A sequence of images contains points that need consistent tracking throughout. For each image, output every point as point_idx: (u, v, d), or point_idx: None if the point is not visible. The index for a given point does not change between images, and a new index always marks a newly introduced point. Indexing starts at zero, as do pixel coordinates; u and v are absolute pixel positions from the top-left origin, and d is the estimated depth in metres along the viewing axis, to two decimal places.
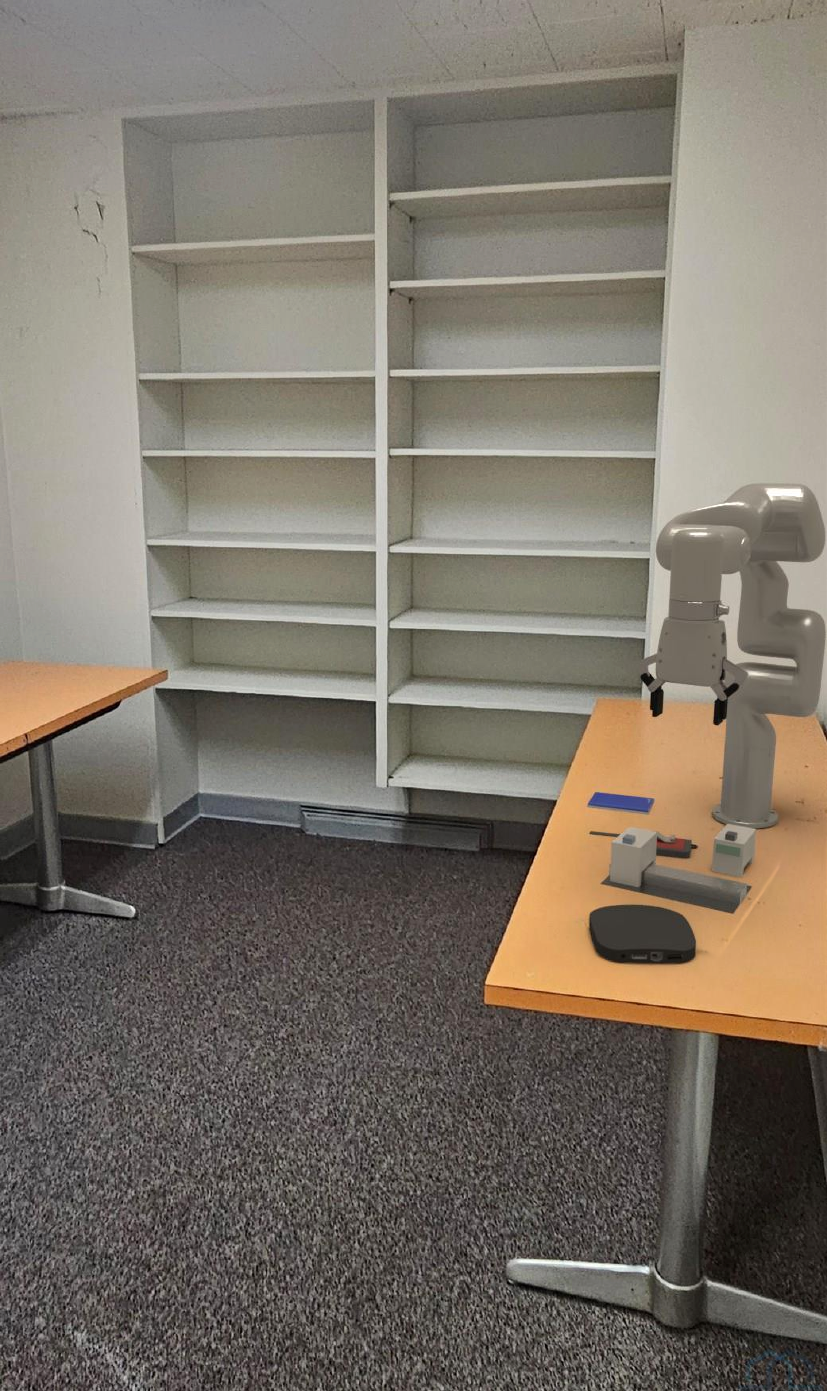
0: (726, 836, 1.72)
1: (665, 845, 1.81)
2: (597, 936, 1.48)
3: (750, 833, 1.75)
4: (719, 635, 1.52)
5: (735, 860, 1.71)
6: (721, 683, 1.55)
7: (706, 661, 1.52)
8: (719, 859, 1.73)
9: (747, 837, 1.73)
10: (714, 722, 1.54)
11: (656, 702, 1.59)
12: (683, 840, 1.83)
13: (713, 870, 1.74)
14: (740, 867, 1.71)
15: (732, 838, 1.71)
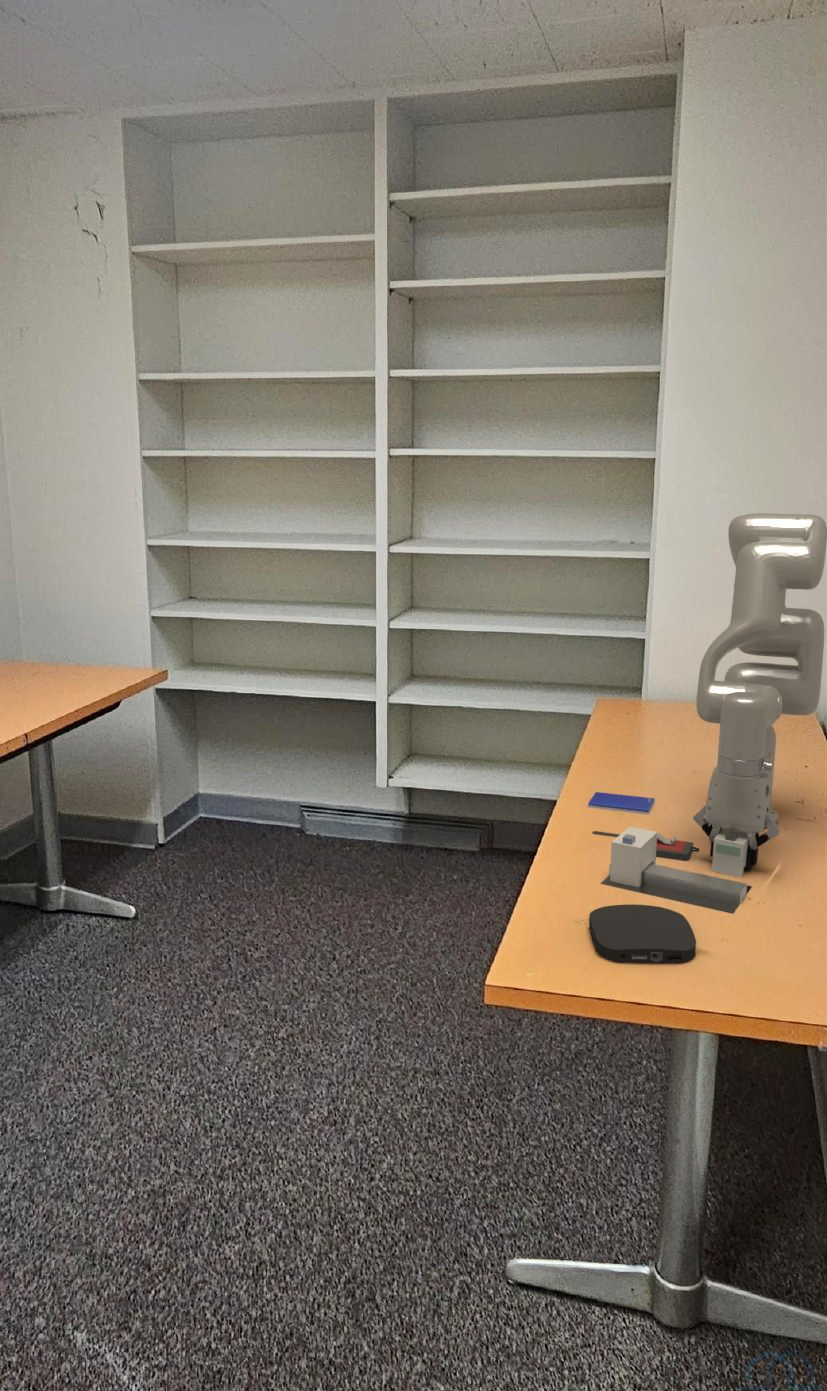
0: (726, 836, 1.72)
1: (665, 847, 1.80)
2: (597, 936, 1.48)
3: None
4: (764, 789, 1.69)
5: (735, 860, 1.71)
6: None
7: (752, 811, 1.70)
8: (719, 859, 1.73)
9: (747, 837, 1.73)
10: (746, 868, 1.73)
11: None
12: (684, 842, 1.82)
13: (713, 870, 1.74)
14: (740, 867, 1.71)
15: (732, 838, 1.71)
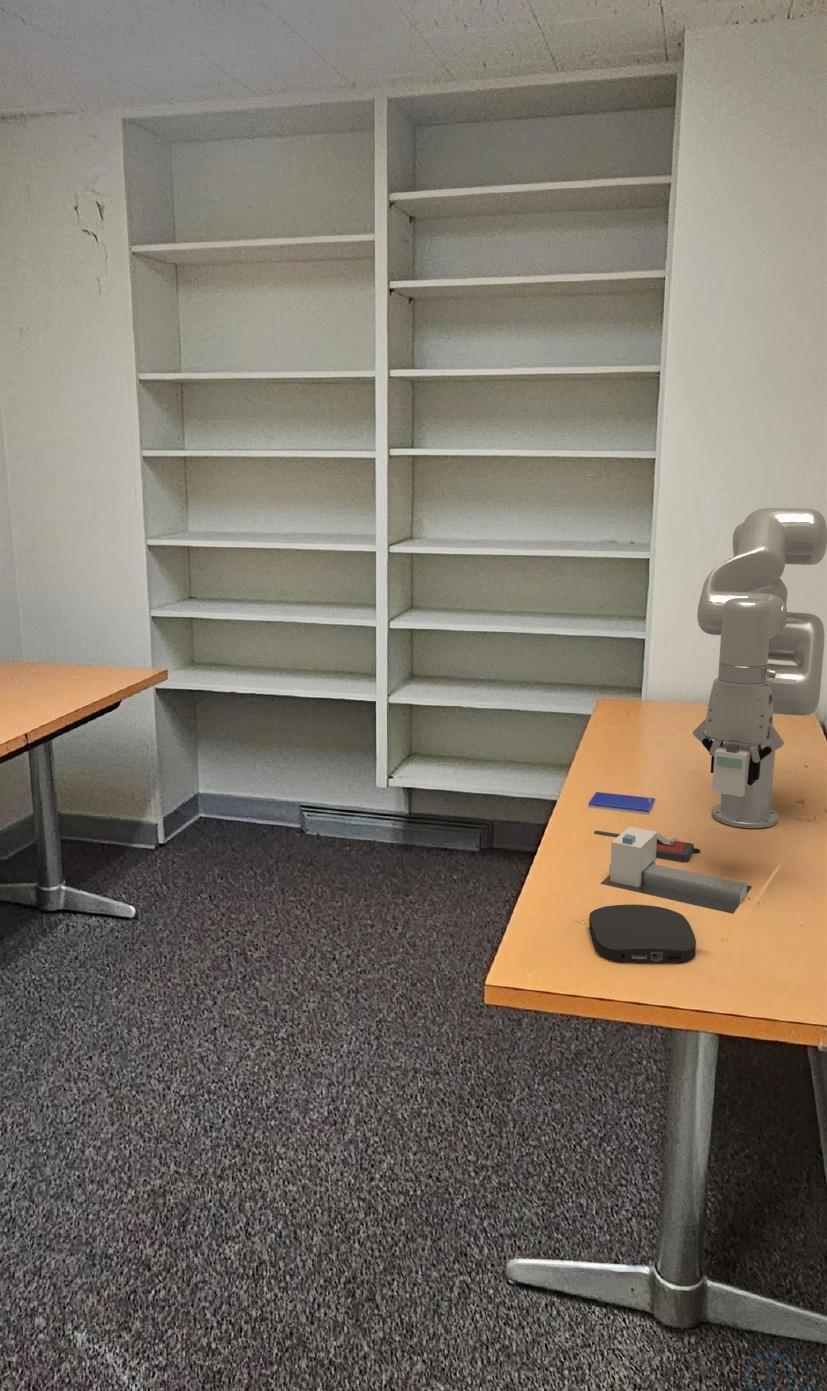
0: (727, 748, 1.65)
1: (664, 847, 1.80)
2: (597, 936, 1.48)
3: None
4: (767, 697, 1.62)
5: (736, 773, 1.64)
6: (759, 745, 1.67)
7: (754, 721, 1.63)
8: (720, 773, 1.66)
9: (749, 750, 1.66)
10: (748, 782, 1.66)
11: None
12: (684, 843, 1.81)
13: (714, 785, 1.67)
14: (742, 780, 1.64)
15: (734, 750, 1.64)
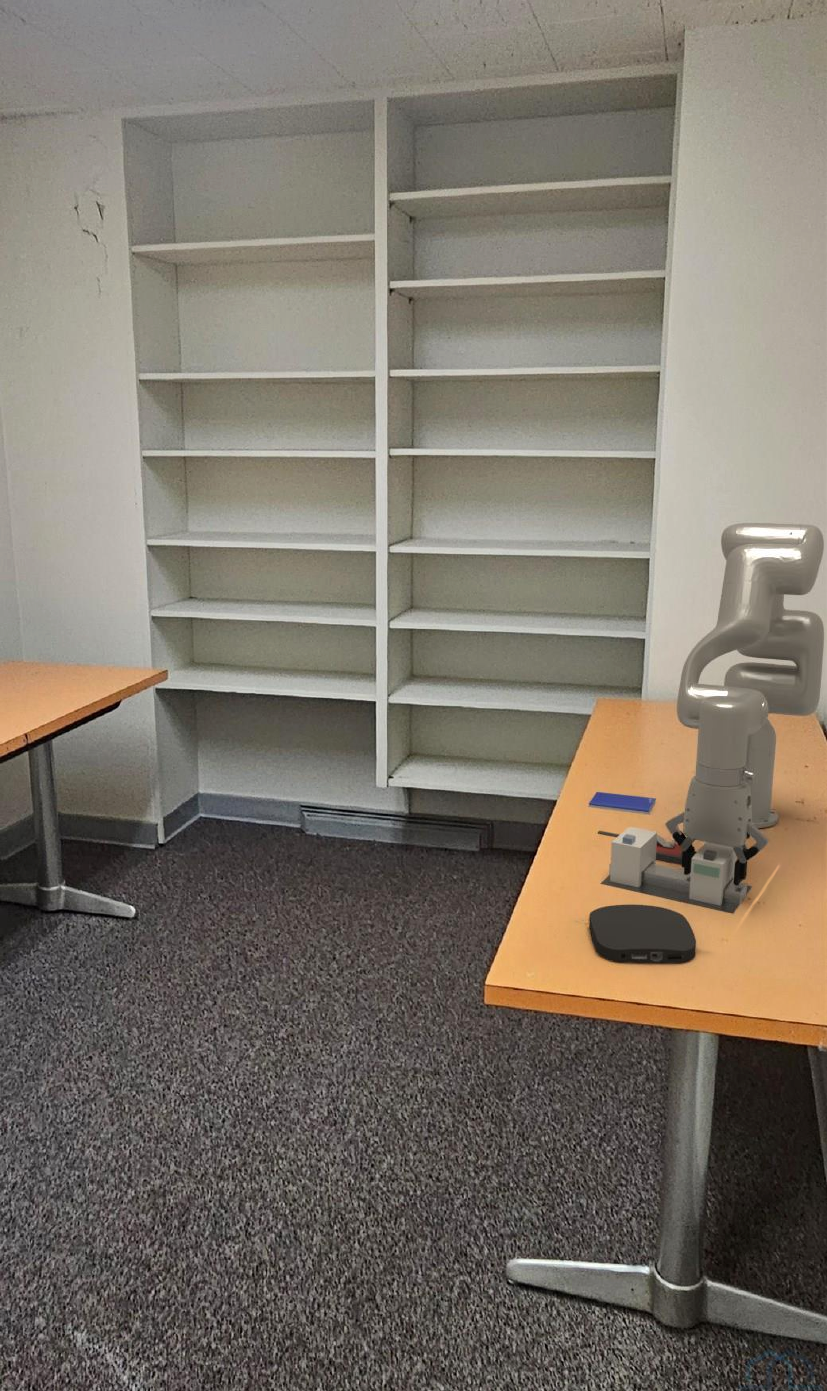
0: (704, 855, 1.61)
1: (663, 850, 1.79)
2: (597, 936, 1.48)
3: (730, 852, 1.64)
4: (745, 800, 1.58)
5: (714, 881, 1.60)
6: None
7: (732, 824, 1.59)
8: (698, 880, 1.62)
9: (727, 856, 1.62)
10: (734, 883, 1.61)
11: (688, 861, 1.65)
12: None
13: (691, 892, 1.63)
14: (719, 889, 1.60)
15: (711, 858, 1.60)
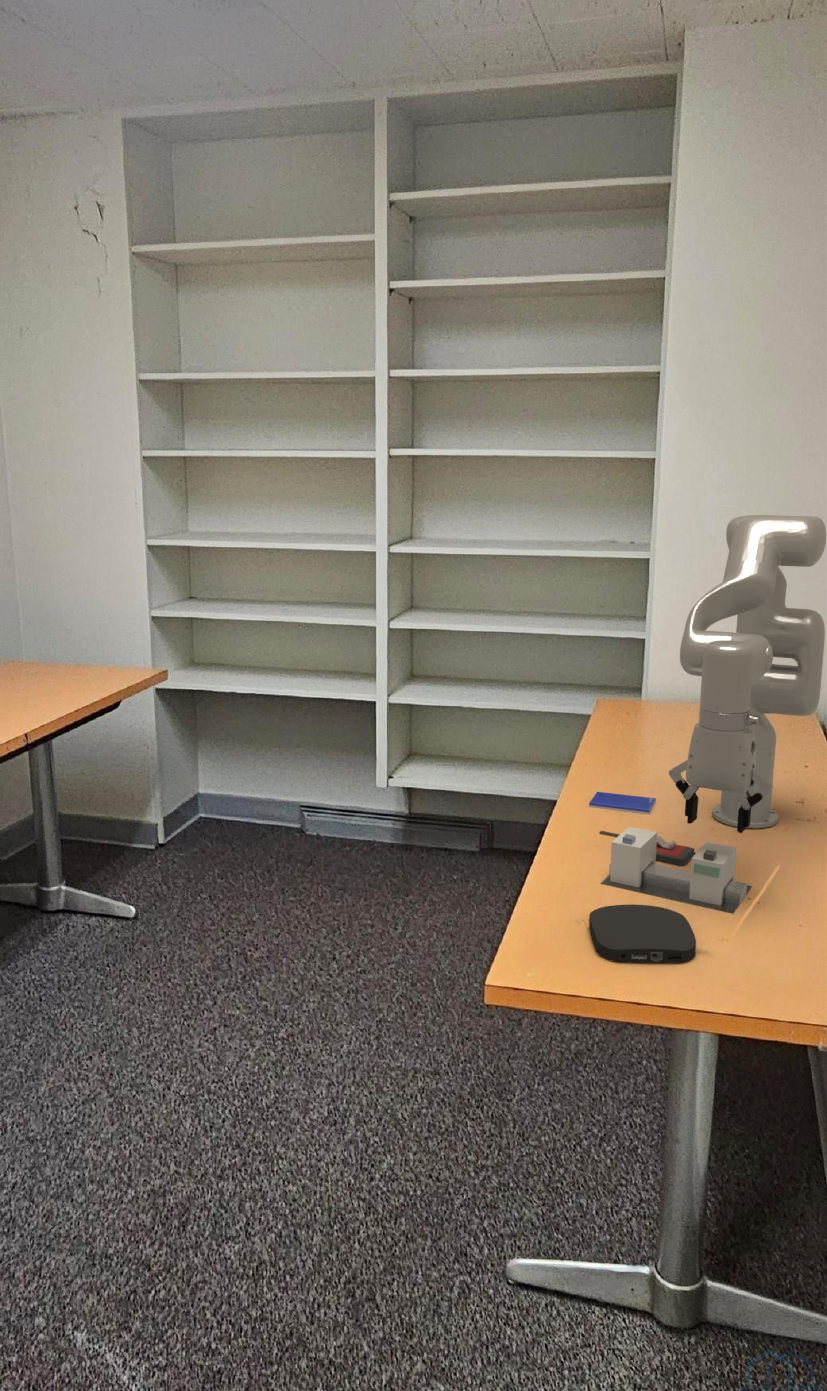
0: (704, 855, 1.61)
1: (662, 850, 1.79)
2: (597, 936, 1.48)
3: (730, 852, 1.64)
4: (749, 745, 1.56)
5: (714, 881, 1.60)
6: (747, 791, 1.60)
7: (736, 769, 1.57)
8: (698, 880, 1.62)
9: (727, 856, 1.62)
10: (738, 830, 1.59)
11: (691, 809, 1.63)
12: (684, 848, 1.80)
13: (691, 892, 1.63)
14: (719, 889, 1.60)
15: (711, 858, 1.60)
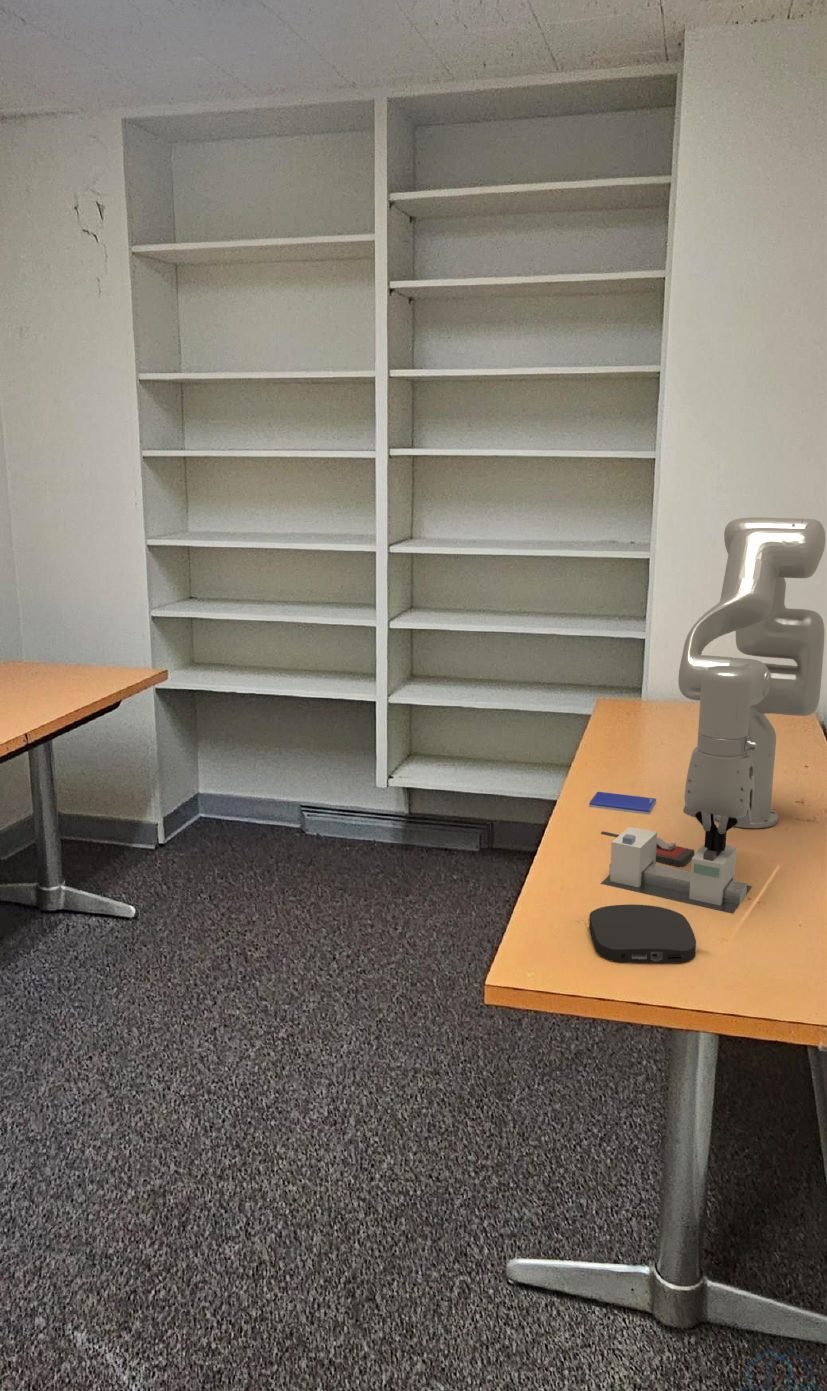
0: (704, 855, 1.61)
1: (661, 852, 1.78)
2: (597, 936, 1.48)
3: (730, 852, 1.64)
4: (747, 770, 1.57)
5: (714, 881, 1.60)
6: (729, 817, 1.62)
7: (734, 794, 1.58)
8: (698, 880, 1.62)
9: (727, 856, 1.62)
10: None
11: (711, 841, 1.62)
12: (684, 849, 1.79)
13: (691, 892, 1.63)
14: (719, 889, 1.60)
15: (711, 858, 1.60)
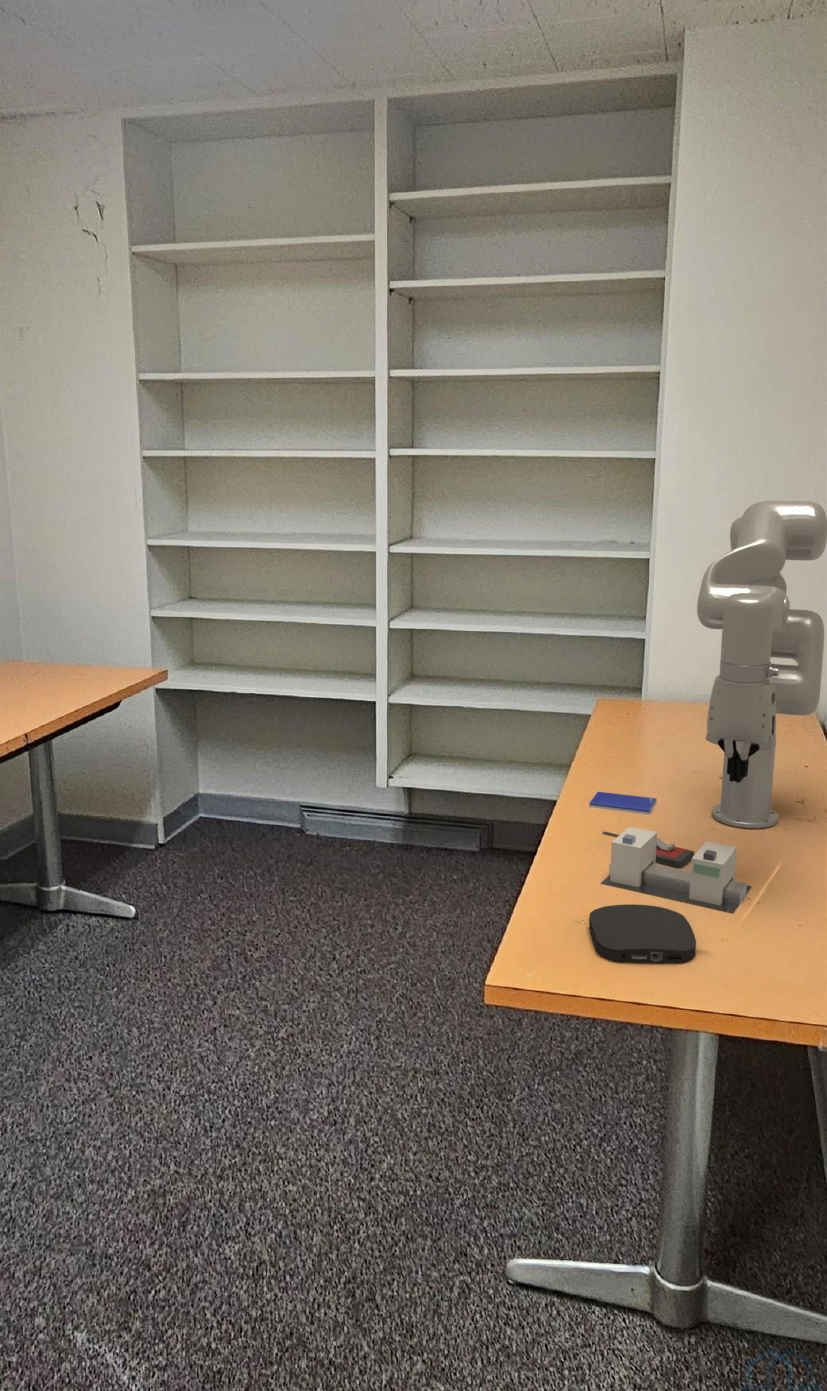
0: (704, 855, 1.61)
1: (660, 852, 1.78)
2: (597, 936, 1.48)
3: (730, 852, 1.64)
4: (769, 696, 1.58)
5: (714, 881, 1.60)
6: (751, 743, 1.64)
7: (756, 720, 1.59)
8: (698, 880, 1.62)
9: (727, 856, 1.62)
10: (736, 780, 1.64)
11: (733, 768, 1.64)
12: (683, 850, 1.79)
13: (691, 892, 1.63)
14: (719, 889, 1.60)
15: (711, 858, 1.60)
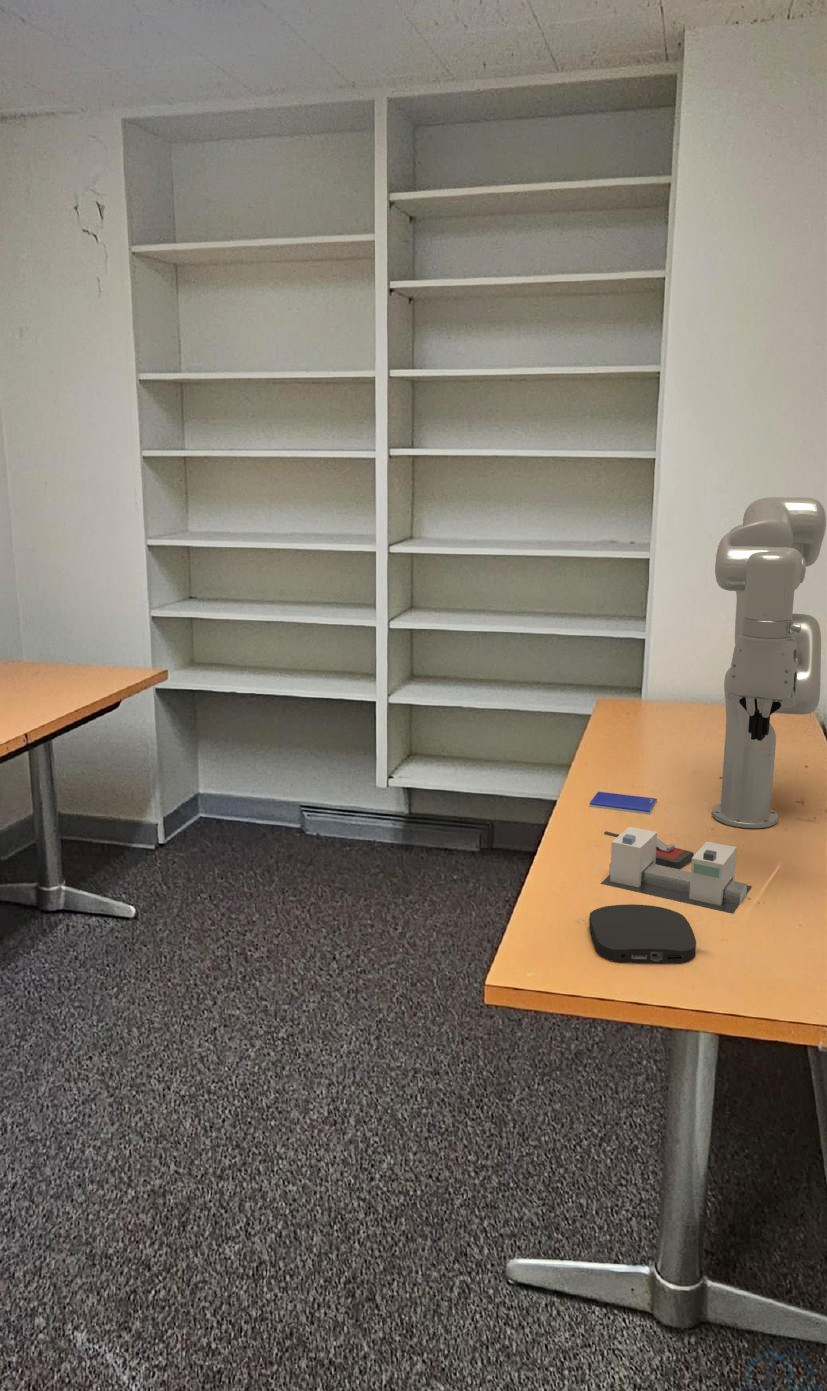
0: (704, 855, 1.61)
1: (659, 853, 1.78)
2: (597, 936, 1.48)
3: (730, 852, 1.64)
4: (791, 652, 1.60)
5: (714, 881, 1.60)
6: (773, 702, 1.66)
7: (779, 676, 1.61)
8: (698, 880, 1.62)
9: (727, 856, 1.62)
10: (757, 738, 1.66)
11: (755, 725, 1.66)
12: (682, 851, 1.78)
13: (691, 892, 1.63)
14: (719, 889, 1.60)
15: (711, 858, 1.60)
